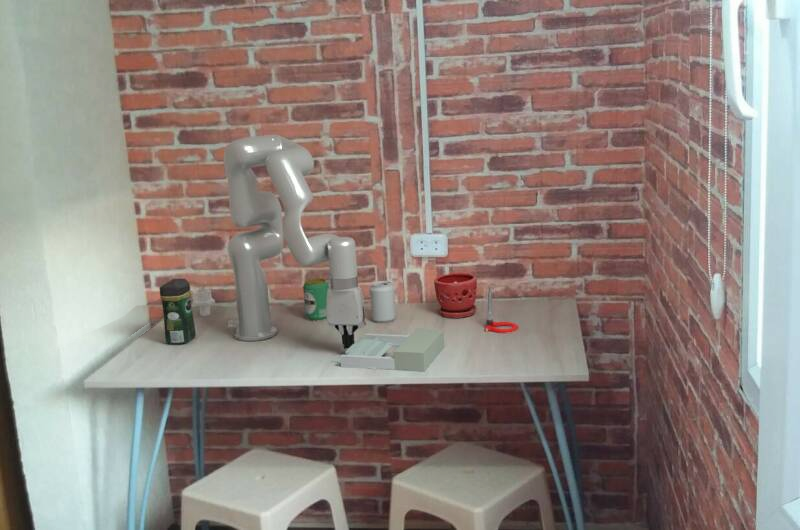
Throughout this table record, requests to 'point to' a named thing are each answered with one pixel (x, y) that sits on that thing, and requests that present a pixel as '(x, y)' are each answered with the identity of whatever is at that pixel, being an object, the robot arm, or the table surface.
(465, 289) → the plant pot
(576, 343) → the table surface
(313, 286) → the beverage can
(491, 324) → the tow hook
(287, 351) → the table surface
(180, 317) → the coffee jar
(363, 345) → the metal bracket
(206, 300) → the pipe fitting
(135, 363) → the table surface
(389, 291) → the can
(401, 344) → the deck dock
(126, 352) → the table surface
